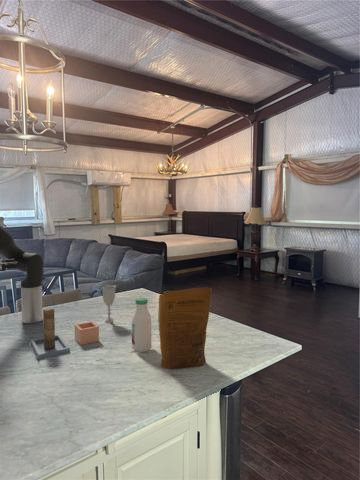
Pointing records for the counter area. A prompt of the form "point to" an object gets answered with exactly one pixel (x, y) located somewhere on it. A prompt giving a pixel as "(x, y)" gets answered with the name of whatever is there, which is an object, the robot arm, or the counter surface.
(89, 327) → the terracotta cup
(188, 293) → the pancake mix bag
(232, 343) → the counter surface
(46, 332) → the walnut dowel
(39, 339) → the slate tray
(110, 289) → the chalice
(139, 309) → the milk bottle
